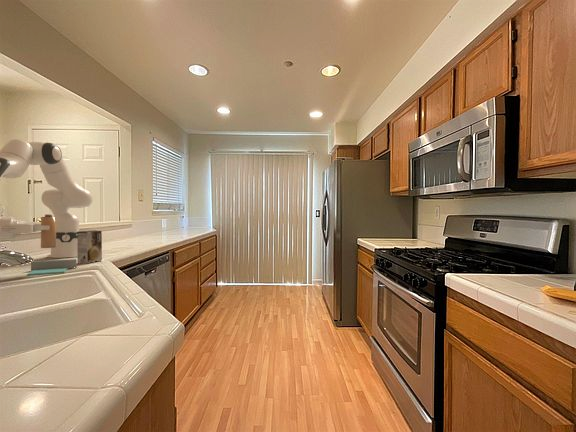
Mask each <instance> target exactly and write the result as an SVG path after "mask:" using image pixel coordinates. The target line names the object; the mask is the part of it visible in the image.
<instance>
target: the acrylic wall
mask: <svg viewBox="0 0 576 432" xmlns="http://www.w3.org/2000/svg"><path fill="white" fill-rule="evenodd" d="M74 267H76V268H77V258H75V259H74V258H73V259H71V258H70V259H57V260H55V259H54V260H53V259H52V260H37V261H36V260H35V261H30V272H31V271H33V270H44V269H59V268H72V269H75V268H74Z"/></svg>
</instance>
